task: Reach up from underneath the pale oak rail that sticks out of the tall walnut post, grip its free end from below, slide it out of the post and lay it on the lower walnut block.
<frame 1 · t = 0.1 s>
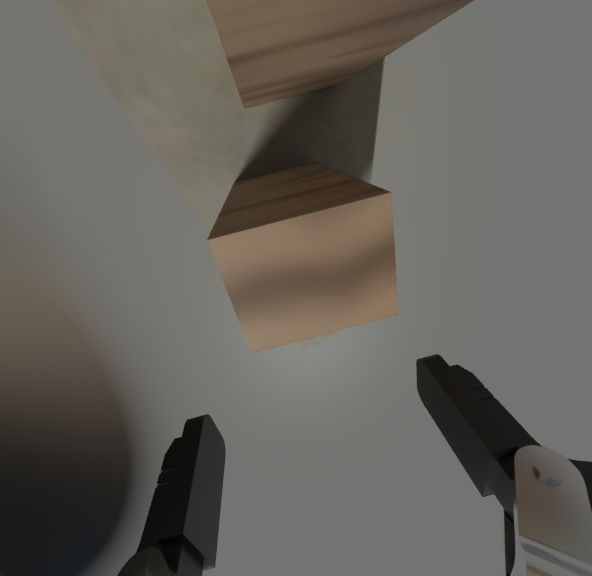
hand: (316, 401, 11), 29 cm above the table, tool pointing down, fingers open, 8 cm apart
walnut post: (286, 62, 29), on the table
low walnut block: (282, 205, 36), on the table
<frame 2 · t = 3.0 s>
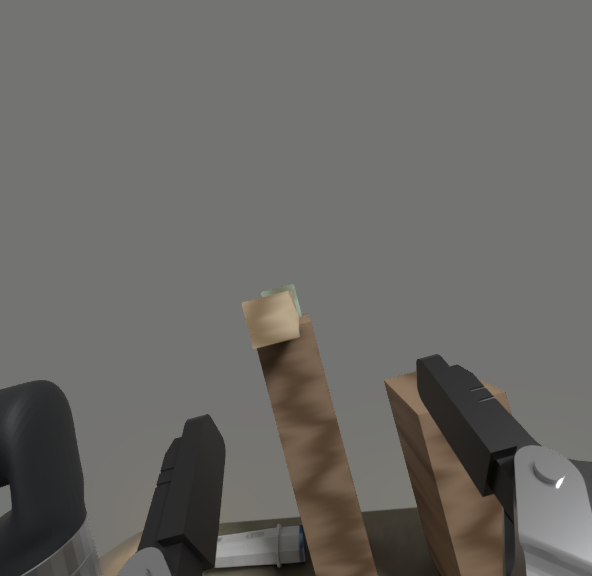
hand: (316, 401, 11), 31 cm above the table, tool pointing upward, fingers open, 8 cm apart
oak rail: (283, 327, 30), point 32 cm above the table, touching walnut post
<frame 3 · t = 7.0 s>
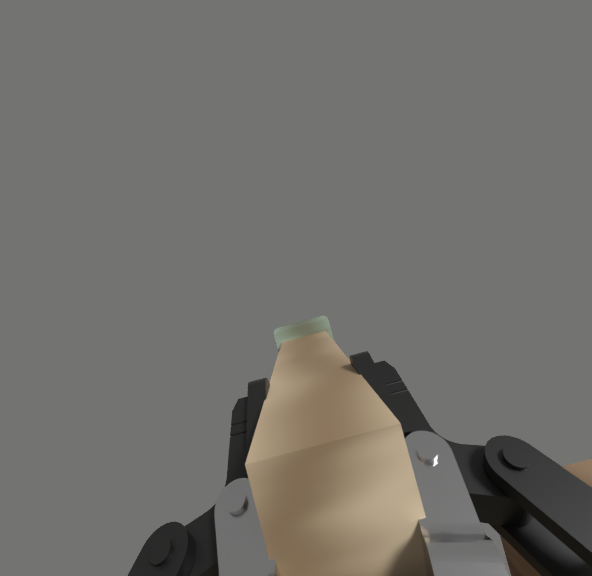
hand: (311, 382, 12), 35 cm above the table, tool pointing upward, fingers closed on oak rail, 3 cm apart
oak rail: (323, 415, 16), point 32 cm above the table, touching gripper, walnut post
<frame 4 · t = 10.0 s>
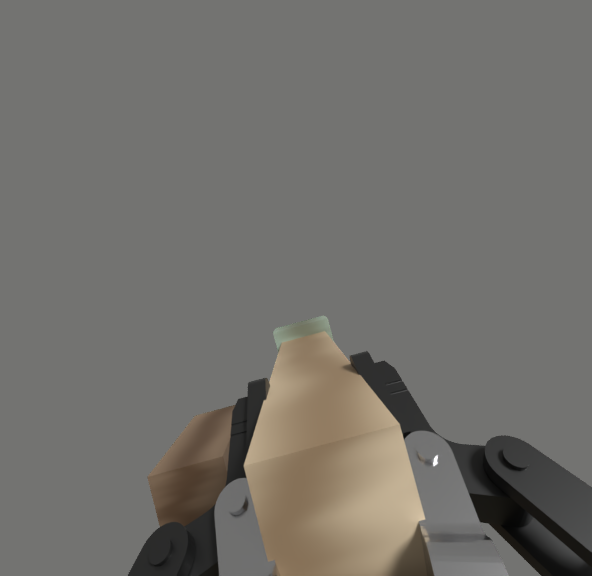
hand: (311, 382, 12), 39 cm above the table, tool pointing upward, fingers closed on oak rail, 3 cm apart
oak rail: (322, 416, 16), point 36 cm above the table, touching gripper
when the fingers open (27 cm above the table, at t = 13.3 s): oak rail drops 2 cm, resting on low walnut block.
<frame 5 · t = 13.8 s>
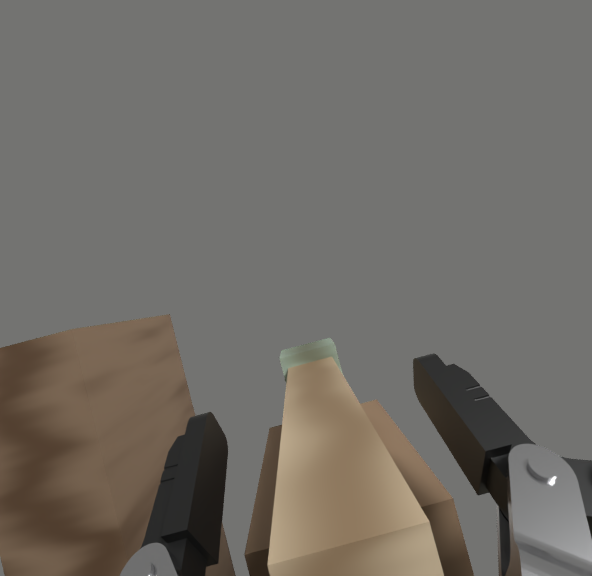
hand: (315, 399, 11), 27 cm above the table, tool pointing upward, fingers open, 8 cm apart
oak rail: (332, 453, 15), point 22 cm above the table, touching low walnut block
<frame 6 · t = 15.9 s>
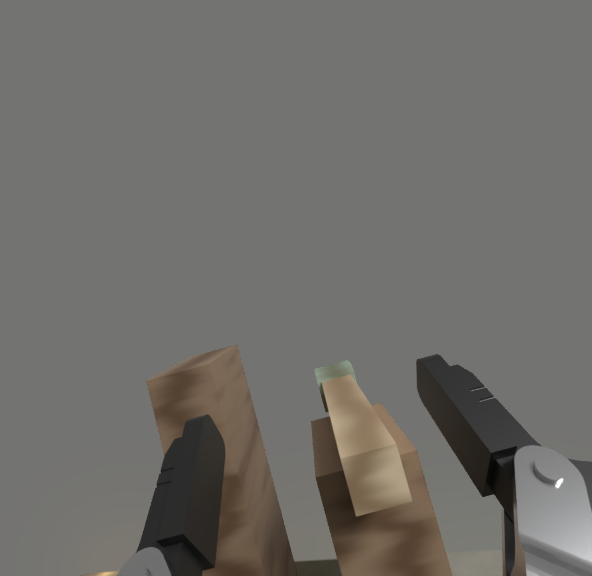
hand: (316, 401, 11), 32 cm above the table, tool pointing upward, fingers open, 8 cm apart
oak rail: (354, 434, 27), point 22 cm above the table, touching low walnut block
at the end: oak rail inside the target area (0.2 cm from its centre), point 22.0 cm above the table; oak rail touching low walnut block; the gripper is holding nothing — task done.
